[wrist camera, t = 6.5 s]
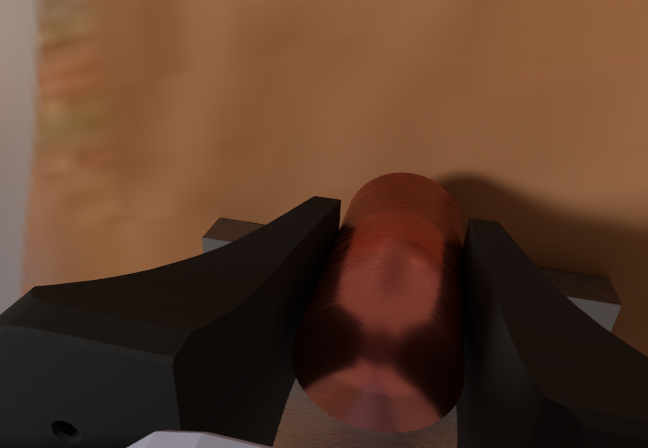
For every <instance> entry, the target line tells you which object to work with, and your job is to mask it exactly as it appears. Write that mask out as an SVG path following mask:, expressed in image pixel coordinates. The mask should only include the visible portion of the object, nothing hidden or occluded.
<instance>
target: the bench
mask: <svg viewBox="0 0 648 448" xmlns="http://www.w3.org/2000/svg"><path fill="white" fill-rule="evenodd" d="M263 226H265V225H261V224H255V223H248V222H242V221H235V220H229V219H222V218H219V219H218V220H217V221H216V222H215V223H214V225H213V226H212V227H211V228H210V229H209V230H208V231H207V233H206V234H205V235H204V236H203V237H202V240H203V253H206V252H209V251H212V250H214V249H217V248H219V247H222V246H224V245H226V244H229V243H231V242H233V241H235V240H238V239H239V238H241V237H243V236H245V235H247V234H249V233H251V232H253V231H255V230H257V229H259V228H261V227H263ZM537 268H538V269H539V270H540V271H541V272H542V273H543V274H544V275H545V276H546V278H547V279H548V280H549V281H550V282H552V283H553V284H554V285H555V286H556V287H557V288H558V289H559V290H560V291H561V292H562V293H563V294H564V295H565V296H566V297H567V298H568V299H569V300H571V301H572V302H573V303H574V304H575V305H576V306H577V307H579V308H580V309H581V310H582V311H584V312H585V313H586V314H587V315H589V316H590V317H591V318H592V319H594V320H595V321H596V322H597V323H599V324H600V325H601V326H603V327H604V328H605V329H607V330H608V331H609V332H611V331H612V328H613V326H614V323H615V321H616V318H617V316H618V313H619V311H620V309H621V306H622V305H621V303H620V301H619V298H618V296H617V294H616V292H615V290H614V287H613V285H612V283H611V281H610V278H604V277H598V276H591V275H585V274H578V273H572V272H565V271H559V270H552V269H546V268H540V267H537Z"/></svg>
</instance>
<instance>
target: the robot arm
mask: <svg viewBox="0 0 648 448" xmlns="http://www.w3.org/2000/svg"><path fill="white" fill-rule="evenodd" d="M340 207H341V200H338V199H331V198H324V197H317V196H314V197H312V198H310V199H309V200H307V201H305V202H303V203H302V204H300V205H299V206H297V207H295V208H294V209H292V210H290V211H289V212H287V213H285V214H284V215H282V216H280V217H279V218H277V219H275V220H274V221H272V222H270V223H268V224H267V225H265V226H263V227H261V228H259V229H257V230H255V231H253V232H251V233H249V234H247V235H245V236H243V237H241V238H239V239H238V240H235V241H233V242H231V243H229V244H226V245H224V246H222V247H219V248H217V249H214V250H212V251H209V252H206V253H204V254H201V255H198V256H195V257H192V258H189V259H186V260H182V261H179V262H175V263H172V264H168V265H165V266H161V267H158V268H154V269H150V270H146V271H141V272H136V273H132V274H127V275H121V276H116V277H110V278H104V279H98V280H91V281H82V282H73V283H65V284H56V285H46V286H35V287H34V288H32V289H31V290H30V291H29V292H27V293H26V294H25V295H24V296H23V297H21V298H20V299H19V300H18V301H16V302H15V303H14V304H13V305H12V306H11V307H9V308H8V309H7V310H6V311H4V312H3V313H2V314H1V315H0V448H274V447H273V444H274V440H275V437H276V434H277V431H278V428H279V425H280V421H281V418H282V415H283V412H284V409H285V405H286V402H287V399H288V397H289V394H290V392H291V389H292V386H293V384H294V382H295V379H296V376H295V374H294V371H293V366H292V358H291V353H292V346H293V342H294V339H295V336H296V334H297V331H298V329H299V327H300V324H301V322H302V319H303V317H304V314H305V312H306V310H307V307H308V305H309V302H310V300H311V297H312V295H313V293H314V290H315V288H316V285H317V283H318V280H319V278H320V276H321V273H322V271H323V268H324V266H325V264H326V261H327V259H328V256H329V254H330V251H331V249H332V247H333V244H334V242H335V239H336V237H337V234H338V232H339V222H340ZM463 314H464V387H463V391H462V394H461V397H460V399H459V400H458V402H457V404H456V411H457V448H648V357H647V356H645V355H644V354H642V353H641V352H639V351H638V350H636V349H635V348H633V347H631V346H630V345H628V344H627V343H625V342H624V341H622V340H621V339H619V338H618V337H616V336H615V335H614V334H612V333H611V332H609V331H608V330H607V329H605V328H604V327H603V326H601V325H600V324H599V323H597V322H596V321H595V320H594V319H592V318H591V317H590V316H589V315H587V314H586V313H585V312H584V311H582V310H581V309H580V308H579V307H577V306H576V305H575V304H574V303H573V302H572V301H571V300H569V299H568V298H567V297H566V296H565V295H564V294H563V293H562V292H561V291H560V290H559V289H558V288H557V287H556V286H555V285H554V284H553V283H552V282H550V281H549V280H548V279H547V278H546V276H545V275H544V274H543V273H542V272H541V271H540V270H539V269H538V268H537V267H536V266H535V265H534V264H533V263H532V261H531V260H530V259H529V258H528V257H527V256H526V255H525V253H524V252H523V251H522V250H521V249H520V248H519V246H518V245H517V244H516V243H515V241H514V240H513V239H512V238H511V237H510V235H509V234H508V233H507V232H506V230H505V229H504V228H503V227H502V226H501V224H500V223H499V222H493V221H486V220H479V219H472V218H469V223H468V227H467V232H466V237H465V242H464V247H463Z"/></svg>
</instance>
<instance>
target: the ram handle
mask: <svg viewBox="0 0 648 448" xmlns="http://www.w3.org/2000/svg"><path fill="white" fill-rule="evenodd" d="M291 358H292V366H293V371H294V374H295V376H296V379H295V382H294V384H293V386H292V389H291V392H290V394H289V397H288V399H287V402H286V405H285V409H284V412H283V415H282V418H281V421H280V425H279V428H278V431H277V434H276V437H275V440H274V444H273V447H274V448H457V411H456V404H457V402H458V400H459V399H460V397H461V394H462V391H463V387H464V314H463V243H462V218H461V213H460V210H459V208H458V206H457V204H456V202H455V200H454V199H453V197H452V196H451V195H450V194H449V193H448V191H447V190H446V189H444V188H443V187H442V186H441V185H439V184H438V183H436V182H435V181H433V180H431V179H429V178H426V177H424V176H420V175H417V174H412V173H392V174H387V175H383V176H380V177H378V178H375V179H373V180H372V181H370V182H368V183H367V184H365V185H364V186H363V187H362V188H361V189H360V190H359V191H358V192H357V193H356V195H355V196H354V198H353V199H352V201H351V203H350V205H349V208H348V210H347V213H346V215H345V217H344V220H343V222H342V225H341V227H340V230H339V232H338V234H337V237H336V239H335V242H334V244H333V247H332V249H331V251H330V254H329V256H328V259H327V261H326V264H325V266H324V268H323V271H322V273H321V276H320V278H319V280H318V283H317V285H316V288H315V290H314V293H313V295H312V297H311V300H310V302H309V305H308V307H307V310H306V312H305V314H304V317H303V319H302V322H301V324H300V327H299V329H298V331H297V334H296V336H295V339H294V342H293V346H292V353H291Z"/></svg>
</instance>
